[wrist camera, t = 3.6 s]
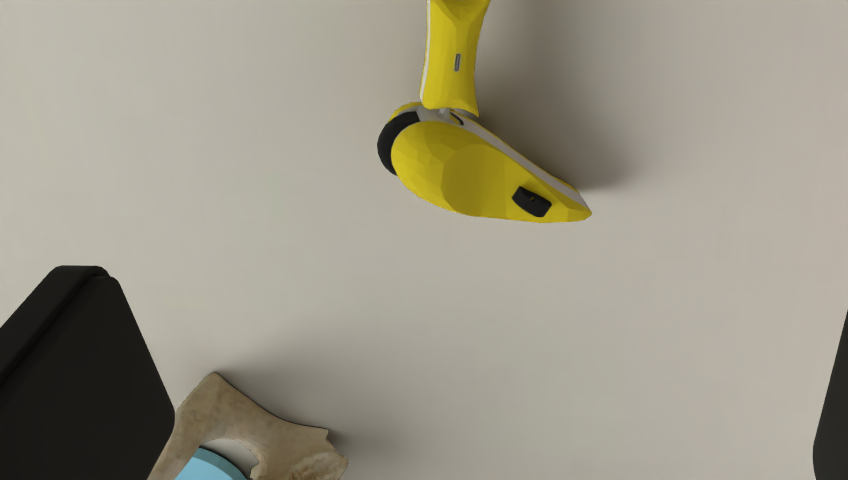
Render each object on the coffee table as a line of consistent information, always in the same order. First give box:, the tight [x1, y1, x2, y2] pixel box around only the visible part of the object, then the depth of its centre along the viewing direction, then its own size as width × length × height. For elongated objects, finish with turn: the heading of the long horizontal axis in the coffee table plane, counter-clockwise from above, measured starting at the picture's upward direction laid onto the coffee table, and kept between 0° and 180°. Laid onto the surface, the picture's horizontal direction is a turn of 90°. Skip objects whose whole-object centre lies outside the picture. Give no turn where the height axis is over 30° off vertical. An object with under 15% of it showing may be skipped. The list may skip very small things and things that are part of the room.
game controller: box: [377, 0, 592, 223], centre depth 20 cm, size 10×6×4 cm, turn 176°
